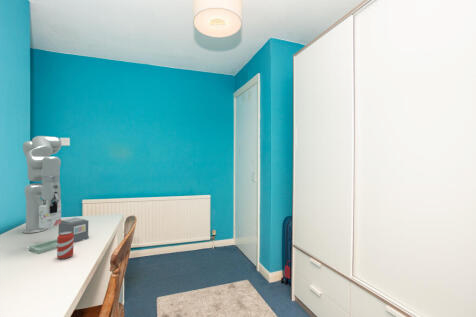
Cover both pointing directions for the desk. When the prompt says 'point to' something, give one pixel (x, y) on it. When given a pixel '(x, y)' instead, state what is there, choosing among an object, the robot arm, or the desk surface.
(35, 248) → the tray
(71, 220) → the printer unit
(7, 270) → the desk surface
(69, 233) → the beverage can
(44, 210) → the ink cartridge box
